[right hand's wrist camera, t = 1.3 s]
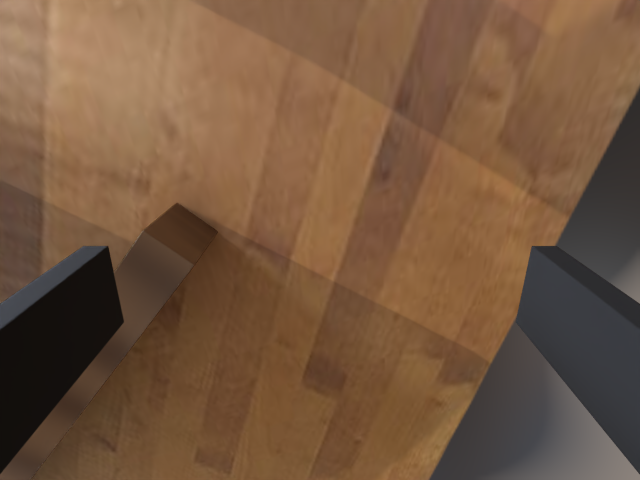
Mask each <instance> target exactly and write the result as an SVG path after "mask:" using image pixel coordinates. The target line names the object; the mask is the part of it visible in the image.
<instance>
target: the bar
mask: <svg viewBox="0 0 640 480" xmlns="http://www.w3.org/2000/svg"><path fill="white" fill-rule="evenodd" d="M216 234H217V231H216V230H215V229H213V228H212V227H210V226H209V225H208V224H206V223H205V222H203V221H202V220H201V219H199V218H198V217H196V216H195V215H193V214H192V213H191V212H189V211H188V210H186V209H185V208H184V207H182V206H181V205H179V204H178V203H176V204H174V205H173V206H172V207H171V208H170V209H168V210H167V211H166V212H165V213H164V214H162V215H161V216H160V217H159V218H157V219H156V220H155V221H154V222H153V223H151V224H150V225H149V226H148V227H146V228H145V229H144V230H143V231H142V232H141V234H140V235H139V237H138V238H137V240H136V241H135V242H134V244H133V245H132V247H131V248H130V250H129V251H128V253H127V254H126V256H125V257H124V258H123V260H122V261H121V263H120V264H119V266H118V267H117V269H116V270H115V272H114V276H115V281H116V286H117V290H118V295H119V300H120V304H121V309H122V314H123V319H124V323H123V324H122V326H121V327H120V328H119V329H118V330H117V332H116V333H115V334H114V335H113V337H112V338H111V339H110V340H109V341H108V343H107V344H106V345H105V346H104V348H103V349H102V350H101V351H100V353H99V354H98V355H97V356H96V357H95V359H94V360H93V361H92V362H91V364H90V365H89V366H88V367H87V368H86V370H85V371H84V372H83V373H82V375H81V376H80V377H79V378H78V380H77V381H76V382H75V383H74V384H73V386H72V387H71V388H70V389H69V391H68V392H67V393H66V394H65V395H64V397H63V398H62V399H61V400H60V402H59V403H58V404H57V405H56V407H55V408H54V409H53V410H52V411H51V413H50V414H49V415H48V416H47V418H46V419H45V420H44V421H43V422H42V424H41V425H40V426H39V427H38V429H37V430H36V431H35V432H34V434H33V435H32V436H31V437H30V438H29V440H28V441H27V442H26V443H25V445H24V446H23V447H22V448H21V449H20V451H19V452H18V453H17V454H16V456H15V457H14V458H13V459H12V461H11V462H10V463H9V464H8V465H7V467H6V468H5V469H4V470H3V472H2V473H1V474H0V480H31V478H32V477H33V476H34V475H35V473H36V472H37V471H38V469H39V468H40V467H41V465H42V464H43V463H44V461H45V460H46V459H47V458H48V456H49V455H50V454H51V452H52V451H53V450H54V448H55V447H56V446H57V444H58V443H59V442H60V441H61V439H62V438H63V437H64V435H65V434H66V433H67V431H68V430H69V429H70V427H71V426H72V425H73V424H74V422H75V421H76V420H77V418H78V417H79V416H80V414H81V413H82V412H83V410H84V409H85V408H86V407H87V405H88V404H89V403H90V401H91V400H92V399H93V397H94V396H95V395H96V393H97V392H98V391H99V390H100V388H101V387H102V386H103V384H104V383H105V382H106V380H107V379H108V378H109V376H110V375H111V374H112V373H113V371H114V370H115V369H116V367H117V366H118V365H119V363H120V362H121V361H122V359H123V358H124V357H125V356H126V354H127V353H128V352H129V350H130V349H131V348H132V346H133V345H134V344H135V342H136V341H137V340H138V339H139V337H140V336H141V335H142V333H143V332H144V331H145V329H146V328H147V327H148V325H149V324H150V323H151V322H152V320H153V319H154V318H155V316H156V315H157V314H158V312H159V311H160V310H161V308H162V307H163V306H164V305H165V303H166V302H167V301H168V299H169V298H170V297H171V295H172V294H173V293H174V291H175V290H176V289H177V288H178V286H179V285H180V284H181V282H182V281H183V280H184V278H185V277H186V276H187V274H188V273H189V272H190V271H191V269H192V268H193V267H194V265H195V264H196V262H197V261H198V260H199V258H200V257H201V255H202V254H203V252H204V251H205V250H206V248H207V247H208V245H209V244H210V242H211V241H212V240H213V238H214V237H215V235H216Z"/></svg>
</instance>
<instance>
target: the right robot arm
mask: <svg viewBox="0 0 640 480" xmlns="http://www.w3.org/2000/svg"><path fill="white" fill-rule="evenodd" d="M123 323H124V319H123V314H122V309H121V304H120V300H119V295H118V290H117V286H116V281H115V276H114V272H113V267H112V262H111V257H110V253H109V248H108V246H83V247H81V248H80V249H79V250H77V251H76V252H74V253H73V254H71V255H70V256H68V257H67V258H66V259H64V260H63V261H61V262H60V263H58V264H57V265H56V266H54V267H53V268H51V269H50V270H48V271H47V272H45V273H44V274H43V275H41V276H40V277H38V278H37V279H35V280H34V281H32V282H31V283H30V284H28V285H27V286H25V287H24V288H22V289H21V290H19V291H18V292H17V293H15V294H14V295H12V296H11V297H9V298H8V299H7V300H5V301H4V302H2V303H1V304H0V474H1V473H2V472H3V470H4V469H5V468H6V467H7V465H8V464H9V463H10V462H11V461H12V459H13V458H14V457H15V456H16V454H17V453H18V452H19V451H20V449H21V448H22V447H23V446H24V445H25V443H26V442H27V441H28V440H29V438H30V437H31V436H32V435H33V434H34V432H35V431H36V430H37V429H38V427H39V426H40V425H41V424H42V422H43V421H44V420H45V419H46V418H47V416H48V415H49V414H50V413H51V411H52V410H53V409H54V408H55V407H56V405H57V404H58V403H59V402H60V400H61V399H62V398H63V397H64V395H65V394H66V393H67V392H68V391H69V389H70V388H71V387H72V386H73V384H74V383H75V382H76V381H77V380H78V378H79V377H80V376H81V375H82V373H83V372H84V371H85V370H86V368H87V367H88V366H89V365H90V364H91V362H92V361H93V360H94V359H95V357H96V356H97V355H98V354H99V353H100V351H101V350H102V349H103V348H104V346H105V345H106V344H107V343H108V341H109V340H110V339H111V338H112V337H113V335H114V334H115V333H116V332H117V330H118V329H119V328H120V327H121V326H122V324H123ZM516 323H517V324H518V326H519V327H520V328H521V329H522V330H523V332H524V333H525V334H526V335H527V337H528V338H529V339H530V340H531V341H532V343H533V344H534V345H535V346H536V348H537V349H538V350H539V351H540V353H541V354H542V355H543V356H544V357H545V359H546V360H547V361H548V362H549V364H550V365H551V366H552V367H553V368H554V370H555V371H556V372H557V373H558V375H559V376H560V377H561V378H562V380H563V381H564V382H565V383H566V384H567V386H568V387H569V388H570V389H571V391H572V392H573V393H574V394H575V395H576V397H577V398H578V399H579V400H580V402H581V403H582V404H583V405H584V407H585V408H586V409H587V410H588V411H589V413H590V414H591V415H592V416H593V418H594V419H595V420H596V421H597V422H598V424H599V425H600V426H601V427H602V429H603V430H604V431H605V432H606V434H607V435H608V436H609V437H610V438H611V440H612V441H613V442H614V443H615V444H616V446H617V447H618V448H619V449H620V451H621V452H622V453H623V454H624V456H625V457H626V458H627V459H628V461H629V462H630V463H631V464H632V465H633V467H634V468H635V469H636V470H637V472H638V473H639V474H640V304H639V303H638V302H636V301H635V300H633V299H632V298H631V297H629V296H628V295H626V294H625V293H623V292H622V291H621V290H619V289H618V288H616V287H615V286H613V285H612V284H610V283H609V282H608V281H606V280H605V279H603V278H602V277H600V276H599V275H597V274H596V273H595V272H593V271H592V270H590V269H589V268H587V267H586V266H584V265H583V264H582V263H580V262H579V261H577V260H576V259H574V258H573V257H572V256H570V255H569V254H567V253H566V252H564V251H563V250H561V249H560V248H558V247H557V246H532V248H531V253H530V257H529V262H528V267H527V272H526V276H525V281H524V286H523V290H522V295H521V300H520V304H519V309H518V314H517V319H516Z"/></svg>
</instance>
